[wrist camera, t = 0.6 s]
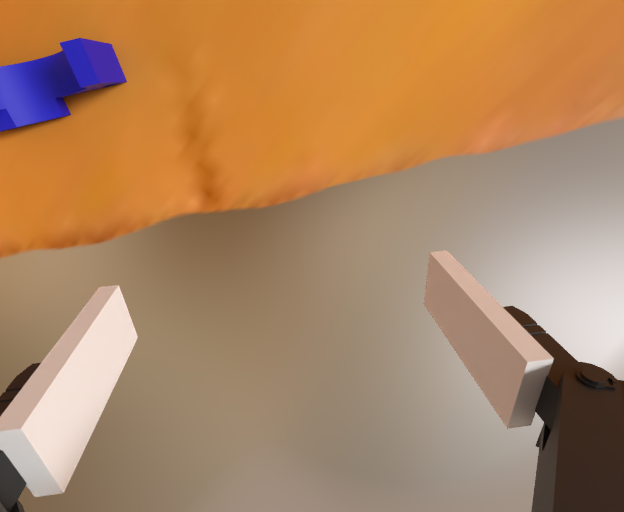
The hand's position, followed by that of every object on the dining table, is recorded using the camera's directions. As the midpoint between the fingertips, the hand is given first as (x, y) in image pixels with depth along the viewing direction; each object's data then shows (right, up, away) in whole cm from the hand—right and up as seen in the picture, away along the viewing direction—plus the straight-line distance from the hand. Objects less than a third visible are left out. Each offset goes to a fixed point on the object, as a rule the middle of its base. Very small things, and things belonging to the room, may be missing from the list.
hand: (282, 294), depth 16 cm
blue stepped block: (-22, +17, +17) cm, 32 cm away
